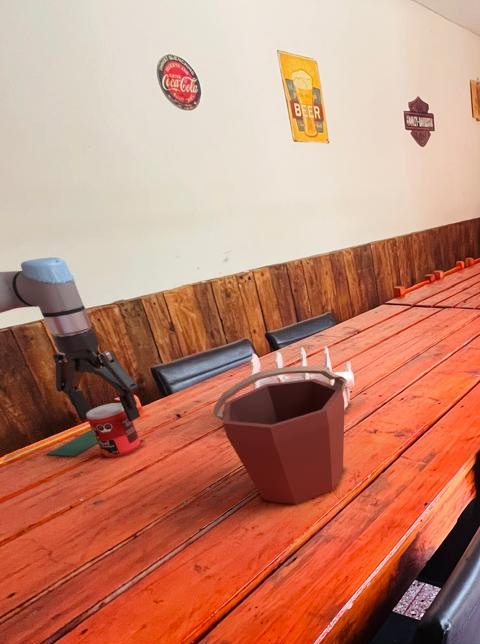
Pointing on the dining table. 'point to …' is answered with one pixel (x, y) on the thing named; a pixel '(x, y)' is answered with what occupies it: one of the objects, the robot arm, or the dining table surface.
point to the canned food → (113, 430)
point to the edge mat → (76, 445)
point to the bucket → (288, 433)
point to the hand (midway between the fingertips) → (110, 418)
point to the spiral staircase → (304, 376)
